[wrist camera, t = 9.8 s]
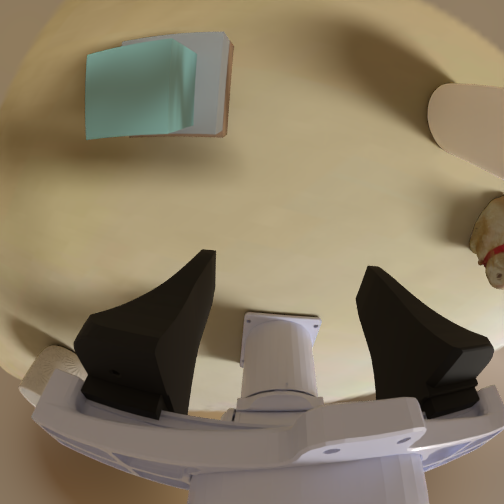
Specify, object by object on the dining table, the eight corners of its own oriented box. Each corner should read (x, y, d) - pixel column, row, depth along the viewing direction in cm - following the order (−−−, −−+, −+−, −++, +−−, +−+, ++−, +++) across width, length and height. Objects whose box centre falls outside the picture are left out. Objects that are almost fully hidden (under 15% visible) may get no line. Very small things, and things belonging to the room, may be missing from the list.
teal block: (193, 125, 15) (167, 133, 11) (126, 128, 15) (86, 139, 11) (197, 53, 12) (172, 38, 9) (127, 61, 12) (87, 54, 9)
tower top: (222, 130, 17) (215, 134, 15) (134, 130, 17) (118, 135, 15) (229, 40, 14) (224, 31, 12) (138, 47, 14) (122, 41, 12)
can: (414, 91, 16) (526, 106, 6) (465, 77, 14) (569, 93, 4) (436, 163, 19) (533, 224, 8) (482, 143, 17) (576, 190, 7)
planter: (61, 372, 41) (41, 414, 31) (35, 330, 34) (6, 376, 25) (111, 389, 41) (93, 438, 31) (88, 347, 34) (59, 404, 25)
